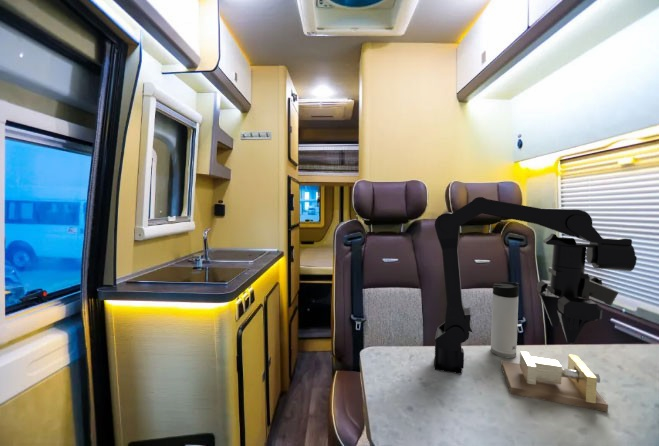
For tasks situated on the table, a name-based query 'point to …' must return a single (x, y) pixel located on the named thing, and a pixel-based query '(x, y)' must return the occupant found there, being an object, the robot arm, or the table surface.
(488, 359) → the table surface
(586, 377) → the gold slab
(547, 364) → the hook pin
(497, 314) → the travel mug
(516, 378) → the copper board
